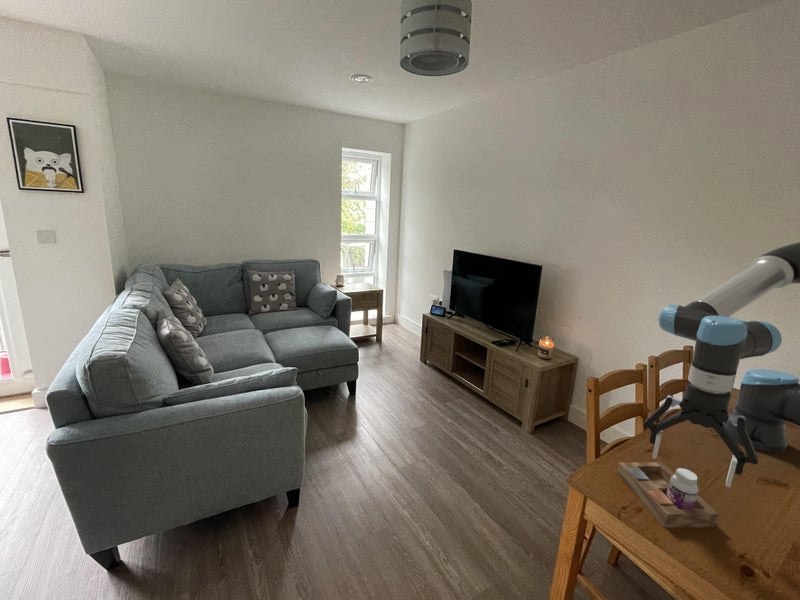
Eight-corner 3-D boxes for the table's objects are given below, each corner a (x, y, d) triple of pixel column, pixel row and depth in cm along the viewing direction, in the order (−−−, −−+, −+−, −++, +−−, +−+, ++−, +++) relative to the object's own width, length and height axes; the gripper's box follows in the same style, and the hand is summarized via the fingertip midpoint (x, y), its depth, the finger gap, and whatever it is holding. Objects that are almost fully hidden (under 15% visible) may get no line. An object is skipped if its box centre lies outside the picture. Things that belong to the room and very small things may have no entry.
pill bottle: (658, 499, 89) (666, 466, 87) (679, 499, 90) (687, 465, 87) (676, 517, 84) (685, 482, 82) (698, 517, 84) (707, 481, 82)
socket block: (659, 473, 100) (662, 461, 99) (715, 527, 83) (719, 512, 82) (617, 473, 100) (619, 461, 99) (664, 527, 83) (667, 512, 82)
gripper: (638, 374, 85) (624, 452, 91) (792, 414, 69) (764, 507, 74) (645, 364, 91) (631, 439, 96) (789, 400, 74) (763, 487, 79)
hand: (689, 469), depth 85 cm, fingers open, 13 cm apart
